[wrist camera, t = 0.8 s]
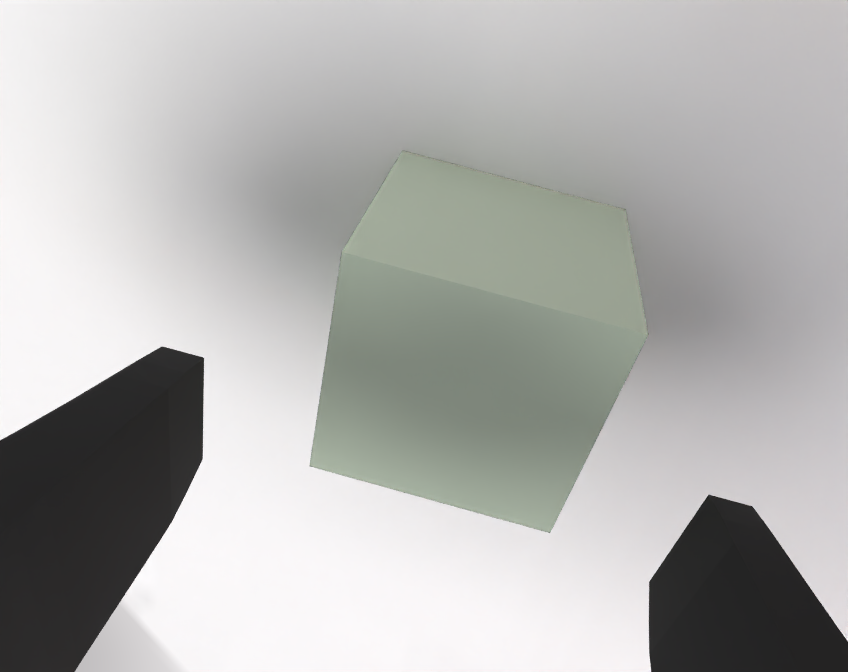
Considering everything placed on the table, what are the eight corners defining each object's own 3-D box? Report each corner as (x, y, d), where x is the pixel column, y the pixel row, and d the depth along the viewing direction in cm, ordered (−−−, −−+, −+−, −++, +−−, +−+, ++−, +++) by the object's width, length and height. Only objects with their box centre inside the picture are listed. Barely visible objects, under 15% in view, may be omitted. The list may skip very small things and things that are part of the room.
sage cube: (624, 207, 13) (648, 334, 9) (553, 380, 16) (549, 532, 12) (403, 149, 13) (341, 251, 10) (368, 330, 16) (309, 466, 12)
